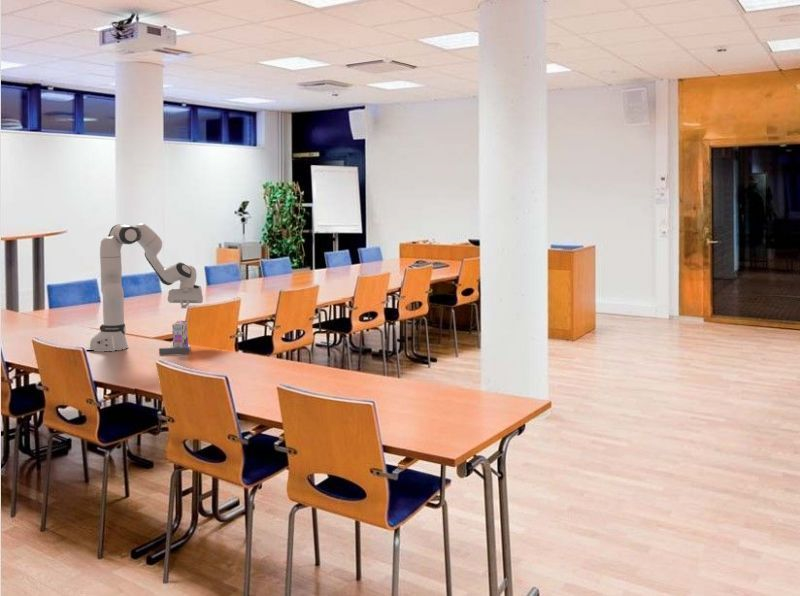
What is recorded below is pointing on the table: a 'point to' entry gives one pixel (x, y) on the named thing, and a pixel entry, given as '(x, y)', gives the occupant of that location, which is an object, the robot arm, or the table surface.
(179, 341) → the candy box
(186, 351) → the slide guide
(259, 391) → the table surface
